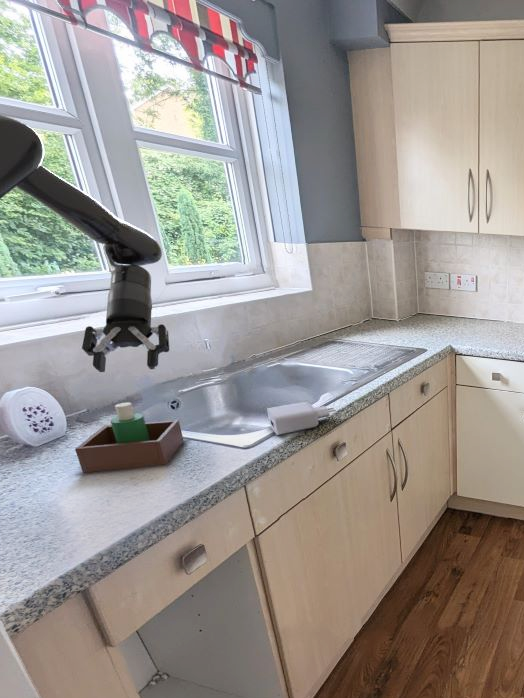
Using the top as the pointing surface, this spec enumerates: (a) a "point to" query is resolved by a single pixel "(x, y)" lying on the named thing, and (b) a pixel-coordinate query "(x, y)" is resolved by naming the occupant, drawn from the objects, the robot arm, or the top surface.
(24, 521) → the top surface
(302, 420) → the charger
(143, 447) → the tray
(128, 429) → the green bottle
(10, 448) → the top surface
